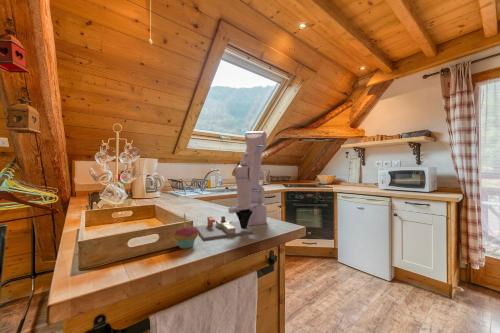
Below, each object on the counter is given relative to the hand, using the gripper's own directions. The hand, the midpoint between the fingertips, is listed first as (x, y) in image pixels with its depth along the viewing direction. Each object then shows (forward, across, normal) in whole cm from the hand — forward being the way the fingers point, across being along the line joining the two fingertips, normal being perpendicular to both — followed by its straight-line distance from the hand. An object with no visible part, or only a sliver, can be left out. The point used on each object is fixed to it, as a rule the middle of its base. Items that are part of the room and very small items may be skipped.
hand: (243, 228), depth 94 cm
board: (+2, +4, -8) cm, 9 cm away
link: (+1, +4, -7) cm, 8 cm away
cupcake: (+2, +24, -4) cm, 25 cm away
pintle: (+2, +2, -10) cm, 11 cm away
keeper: (+2, +7, -13) cm, 15 cm away
